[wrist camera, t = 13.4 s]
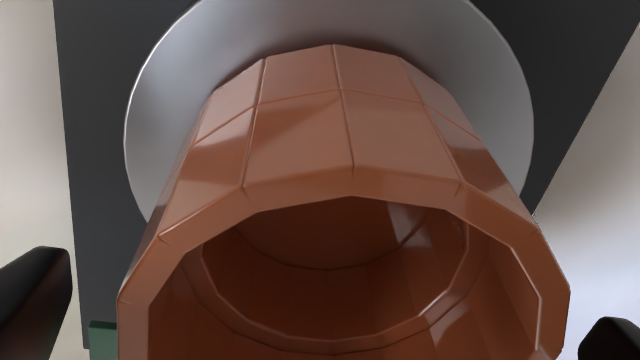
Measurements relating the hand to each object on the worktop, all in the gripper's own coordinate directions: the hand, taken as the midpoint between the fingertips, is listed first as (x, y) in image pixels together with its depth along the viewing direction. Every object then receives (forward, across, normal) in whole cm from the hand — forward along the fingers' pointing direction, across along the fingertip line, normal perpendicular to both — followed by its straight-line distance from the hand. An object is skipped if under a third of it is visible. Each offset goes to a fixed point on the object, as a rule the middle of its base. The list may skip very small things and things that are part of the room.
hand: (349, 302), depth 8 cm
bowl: (+4, 0, 0) cm, 4 cm away
